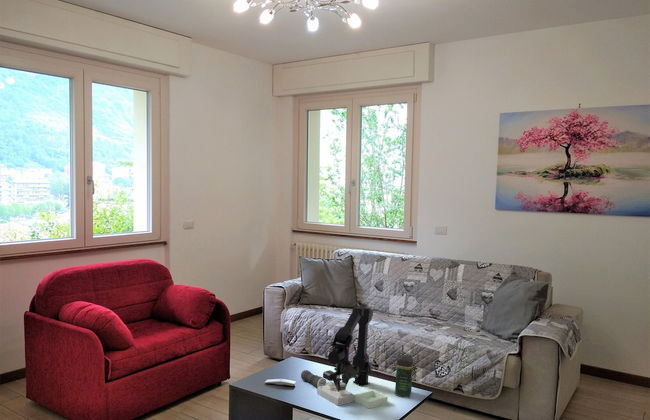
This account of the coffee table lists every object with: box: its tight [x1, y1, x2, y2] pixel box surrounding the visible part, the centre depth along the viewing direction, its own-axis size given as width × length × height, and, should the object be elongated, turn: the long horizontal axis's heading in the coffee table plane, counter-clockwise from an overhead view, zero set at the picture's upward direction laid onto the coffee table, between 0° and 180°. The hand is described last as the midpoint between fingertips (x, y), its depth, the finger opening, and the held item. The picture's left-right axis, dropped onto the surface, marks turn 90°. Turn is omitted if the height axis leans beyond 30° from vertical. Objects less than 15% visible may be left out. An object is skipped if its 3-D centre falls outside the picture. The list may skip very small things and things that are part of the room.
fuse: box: [326, 381, 335, 390], centre depth 244 cm, size 3×3×6 cm
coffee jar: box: [394, 354, 414, 398], centre depth 249 cm, size 10×8×19 cm
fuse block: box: [316, 385, 355, 406], centre depth 241 cm, size 10×16×3 cm, turn 37°
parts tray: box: [353, 389, 389, 409], centre depth 238 cm, size 12×10×3 cm
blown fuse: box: [336, 381, 347, 396], centre depth 238 cm, size 3×3×8 cm
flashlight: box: [300, 369, 327, 388], centre depth 257 cm, size 15×5×5 cm, turn 39°
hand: (341, 390), depth 238 cm, fingers closed on blown fuse, 3 cm apart
